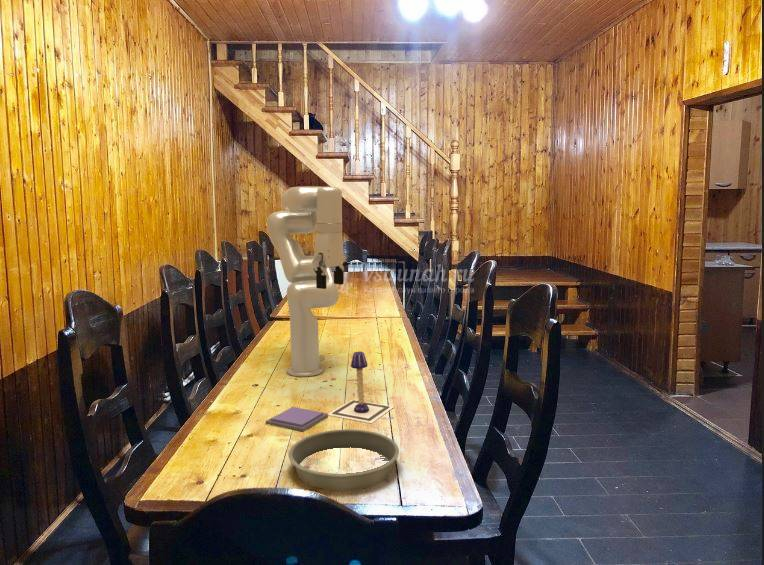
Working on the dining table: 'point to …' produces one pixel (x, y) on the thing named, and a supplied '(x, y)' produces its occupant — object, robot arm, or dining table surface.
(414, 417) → the dining table surface
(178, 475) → the dining table surface
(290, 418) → the ink pad
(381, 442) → the cake pan
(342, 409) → the marked card
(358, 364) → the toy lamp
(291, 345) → the robot arm
